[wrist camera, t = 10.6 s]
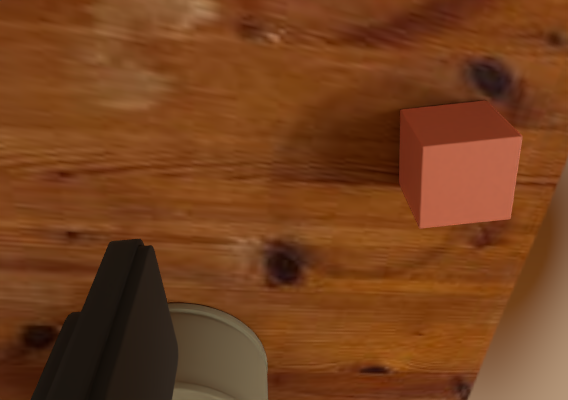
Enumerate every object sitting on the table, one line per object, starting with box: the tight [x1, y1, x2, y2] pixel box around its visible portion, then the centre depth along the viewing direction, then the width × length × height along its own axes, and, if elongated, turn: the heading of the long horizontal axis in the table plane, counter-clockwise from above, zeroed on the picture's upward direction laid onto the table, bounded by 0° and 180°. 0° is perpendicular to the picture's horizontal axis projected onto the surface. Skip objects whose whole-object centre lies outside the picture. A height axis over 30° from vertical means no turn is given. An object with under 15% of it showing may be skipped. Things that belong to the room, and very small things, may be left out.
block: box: [399, 100, 522, 228], centre depth 27 cm, size 4×4×4 cm
